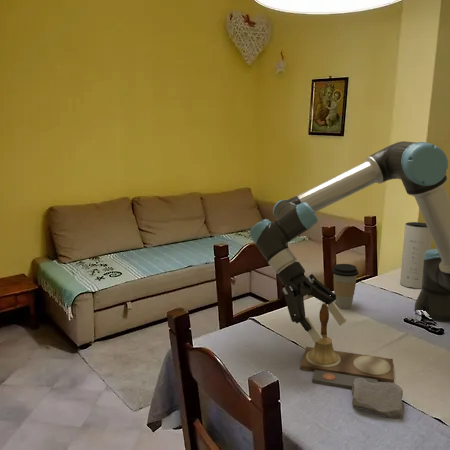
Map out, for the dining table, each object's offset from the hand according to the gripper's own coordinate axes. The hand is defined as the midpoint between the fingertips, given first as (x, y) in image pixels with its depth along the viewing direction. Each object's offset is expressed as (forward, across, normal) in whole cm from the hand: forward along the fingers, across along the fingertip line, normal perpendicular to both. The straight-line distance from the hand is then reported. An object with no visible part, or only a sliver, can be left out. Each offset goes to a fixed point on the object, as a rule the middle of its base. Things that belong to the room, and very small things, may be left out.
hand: (331, 331), depth 122 cm
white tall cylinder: (+3, -79, -12) cm, 80 cm away
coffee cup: (-5, -40, -20) cm, 45 cm away
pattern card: (+12, +5, -2) cm, 13 cm away
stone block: (+20, +9, +5) cm, 22 cm away
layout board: (+10, -3, -5) cm, 11 cm away
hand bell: (+5, 0, -8) cm, 9 cm away
